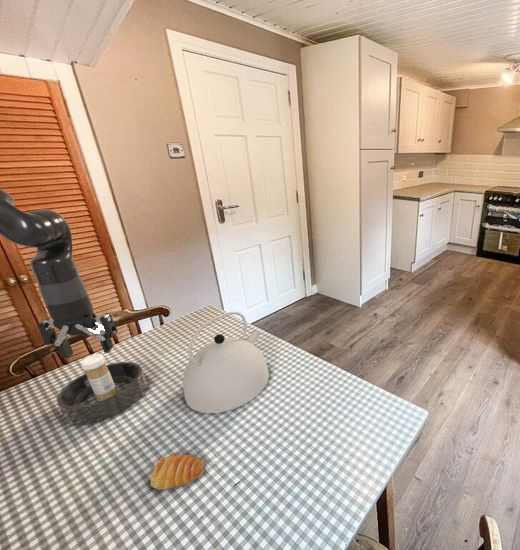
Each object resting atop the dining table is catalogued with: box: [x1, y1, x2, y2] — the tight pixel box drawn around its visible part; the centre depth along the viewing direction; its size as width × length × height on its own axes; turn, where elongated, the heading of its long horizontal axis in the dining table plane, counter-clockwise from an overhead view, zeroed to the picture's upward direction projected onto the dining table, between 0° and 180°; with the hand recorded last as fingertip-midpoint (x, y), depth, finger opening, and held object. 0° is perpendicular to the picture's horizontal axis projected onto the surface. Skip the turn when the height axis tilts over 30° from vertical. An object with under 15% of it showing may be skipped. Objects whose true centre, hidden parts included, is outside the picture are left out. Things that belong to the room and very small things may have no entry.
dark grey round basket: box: [56, 361, 148, 426], centre depth 82 cm, size 18×18×6 cm
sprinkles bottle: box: [80, 353, 119, 402], centre depth 81 cm, size 5×5×14 cm
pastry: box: [150, 453, 205, 491], centre depth 63 cm, size 9×7×4 cm
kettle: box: [182, 311, 270, 414], centre depth 86 cm, size 25×23×22 cm
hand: (89, 353), depth 77 cm, fingers open, 8 cm apart
